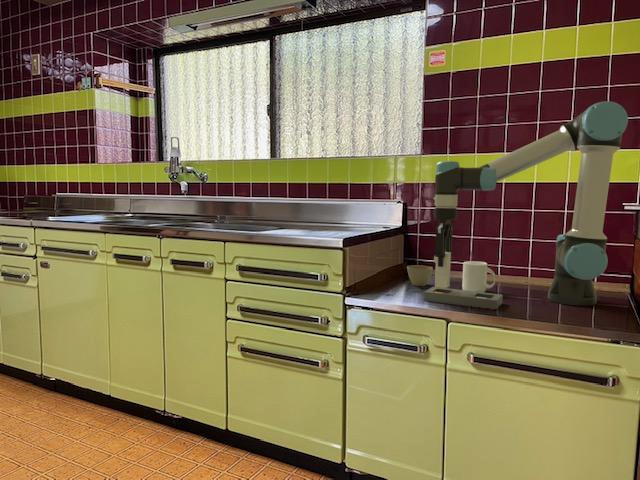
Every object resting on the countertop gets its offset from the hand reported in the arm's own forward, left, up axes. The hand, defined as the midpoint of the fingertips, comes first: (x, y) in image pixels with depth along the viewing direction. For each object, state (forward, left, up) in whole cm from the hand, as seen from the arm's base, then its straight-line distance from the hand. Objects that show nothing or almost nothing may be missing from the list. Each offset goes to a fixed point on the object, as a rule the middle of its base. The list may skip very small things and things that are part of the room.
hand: (442, 274), depth 168 cm
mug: (-8, -20, -9) cm, 23 cm away
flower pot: (+15, -20, -9) cm, 26 cm away
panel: (-7, 0, -9) cm, 11 cm away
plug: (0, 0, -4) cm, 4 cm away
